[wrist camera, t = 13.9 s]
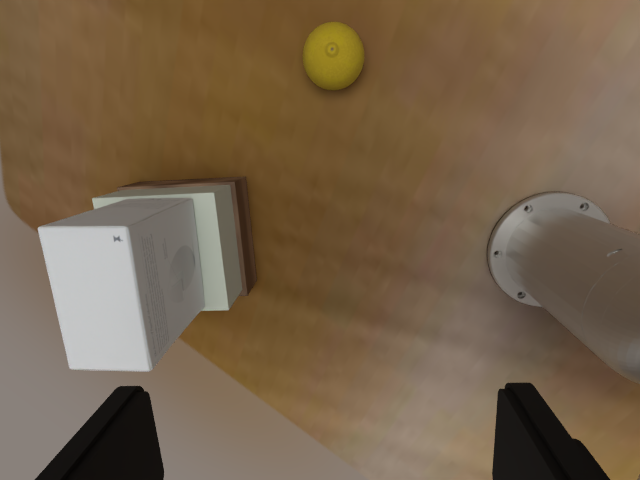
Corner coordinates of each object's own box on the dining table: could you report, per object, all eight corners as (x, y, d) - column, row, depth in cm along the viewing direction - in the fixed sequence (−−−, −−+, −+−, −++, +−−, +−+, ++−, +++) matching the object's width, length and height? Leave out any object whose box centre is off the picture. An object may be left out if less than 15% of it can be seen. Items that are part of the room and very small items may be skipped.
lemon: (329, 105, 41) (325, 99, 33) (295, 58, 40) (283, 42, 32) (373, 69, 40) (380, 55, 32) (340, 21, 39) (338, -6, 31)
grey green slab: (230, 184, 39) (213, 192, 35) (242, 289, 42) (228, 310, 37) (122, 190, 40) (92, 198, 35) (141, 292, 43) (115, 312, 38)
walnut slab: (246, 176, 44) (234, 181, 39) (257, 278, 47) (247, 295, 42) (141, 181, 45) (117, 187, 40) (158, 281, 48) (138, 298, 43)
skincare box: (121, 198, 35) (31, 225, 25) (193, 196, 35) (130, 224, 25) (139, 308, 38) (64, 372, 28) (206, 308, 38) (154, 373, 27)
